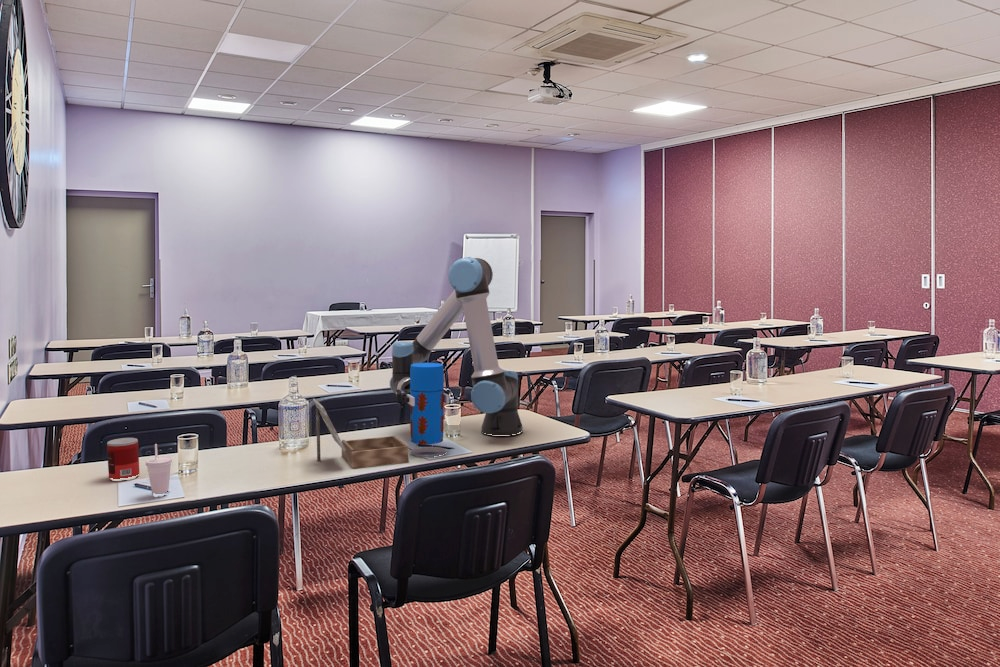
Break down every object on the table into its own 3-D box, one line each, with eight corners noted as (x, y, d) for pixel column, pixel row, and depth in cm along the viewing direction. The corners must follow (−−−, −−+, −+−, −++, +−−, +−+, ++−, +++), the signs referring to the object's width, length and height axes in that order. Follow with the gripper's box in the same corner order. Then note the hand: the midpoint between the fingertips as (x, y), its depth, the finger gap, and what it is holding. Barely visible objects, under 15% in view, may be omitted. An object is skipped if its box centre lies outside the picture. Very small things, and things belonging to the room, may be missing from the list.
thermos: (437, 445, 225) (438, 367, 223) (405, 443, 227) (405, 366, 225) (447, 437, 236) (447, 363, 233) (416, 435, 238) (416, 362, 235)
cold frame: (394, 450, 235) (393, 392, 233) (408, 462, 221) (407, 400, 219) (314, 459, 224) (312, 398, 223) (323, 472, 210) (321, 407, 208)
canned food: (145, 474, 208) (143, 438, 207) (126, 482, 200) (124, 444, 199) (122, 473, 209) (121, 436, 208) (102, 481, 201) (100, 443, 200)
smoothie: (145, 494, 189) (142, 443, 188) (171, 490, 193) (168, 439, 192) (149, 500, 184) (146, 448, 183) (175, 496, 188) (173, 444, 187)
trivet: (439, 447, 239) (439, 445, 239) (452, 455, 229) (452, 453, 228) (405, 450, 235) (405, 449, 235) (416, 459, 224) (416, 457, 224)
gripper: (442, 398, 251) (464, 409, 231) (378, 402, 242) (395, 414, 222) (442, 377, 251) (464, 386, 231) (377, 380, 241) (395, 391, 221)
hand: (430, 400), depth 226 cm, fingers closed on thermos, 11 cm apart
